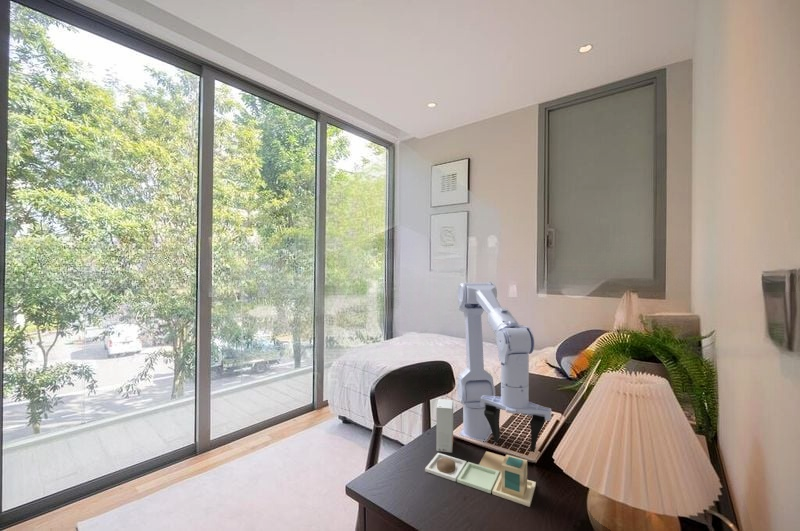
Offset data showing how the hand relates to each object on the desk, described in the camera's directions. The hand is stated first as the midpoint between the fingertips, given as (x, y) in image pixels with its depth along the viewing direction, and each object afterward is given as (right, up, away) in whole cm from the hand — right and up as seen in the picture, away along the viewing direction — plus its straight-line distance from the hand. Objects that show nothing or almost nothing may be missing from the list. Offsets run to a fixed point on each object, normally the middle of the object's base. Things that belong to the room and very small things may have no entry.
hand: (514, 444), depth 75 cm
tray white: (-14, -10, +8) cm, 19 cm away
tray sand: (0, -10, 0) cm, 10 cm away
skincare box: (-13, -10, +18) cm, 24 cm away
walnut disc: (-14, -10, +8) cm, 19 cm away
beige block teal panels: (0, -10, 0) cm, 10 cm away
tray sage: (-7, -10, +4) cm, 13 cm away
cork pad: (-1, -10, +10) cm, 14 cm away
